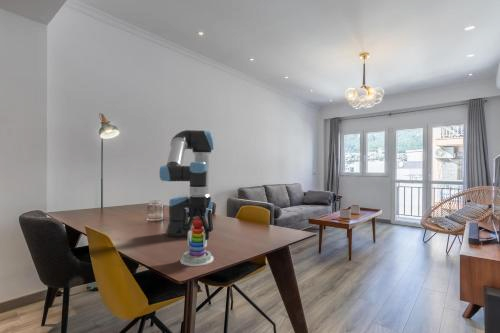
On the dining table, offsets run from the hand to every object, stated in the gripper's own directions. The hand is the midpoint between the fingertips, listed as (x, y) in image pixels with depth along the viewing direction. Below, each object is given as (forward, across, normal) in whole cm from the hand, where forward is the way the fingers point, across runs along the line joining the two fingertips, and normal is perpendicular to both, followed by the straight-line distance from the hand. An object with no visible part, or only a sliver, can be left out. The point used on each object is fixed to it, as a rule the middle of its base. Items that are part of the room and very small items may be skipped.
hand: (197, 245), depth 121 cm
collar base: (+6, 0, 0) cm, 6 cm away
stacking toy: (+6, 0, 0) cm, 6 cm away
